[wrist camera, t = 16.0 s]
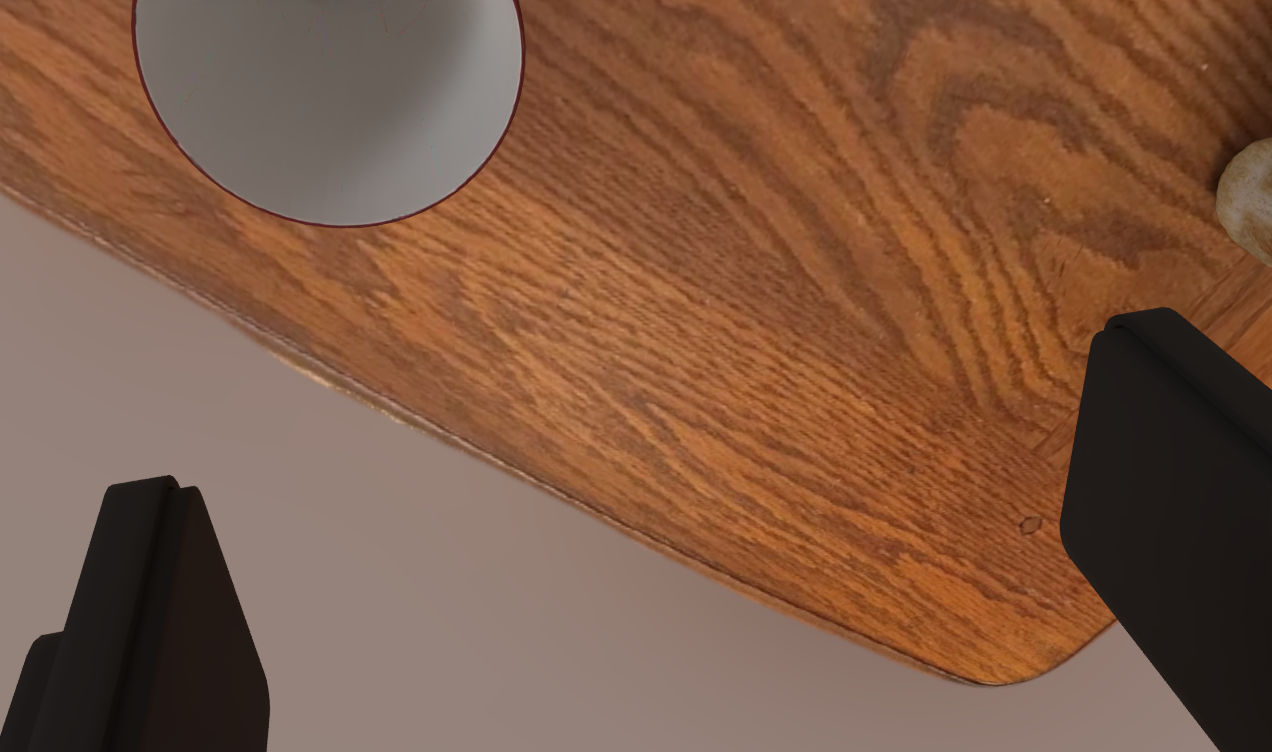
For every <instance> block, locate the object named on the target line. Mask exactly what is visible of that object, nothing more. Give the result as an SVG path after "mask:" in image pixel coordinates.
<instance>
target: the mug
mask: <svg viewBox="0 0 1272 752" xmlns="http://www.w3.org/2000/svg"><path fill="white" fill-rule="evenodd" d="M131 29H132V43H133V50H134V55H135V61H136V66H137V69H138V73H139V76H140V80H141V83H142V86H143V88H144V91H145V94H146V96H147V99H148V101H149V103H150V105H151V107H152V109H153V111H154V113H155V115H156V117H157V119H158V120H159V122H160V124H161V125H162V127H163V128H164V130H165V131H166V133H167V135H168V136H169V137H170V139H171V140H172V141H173V143H174V144H175V145H176V146H177V148H178V149H179V150H180V151H181V152H182V154H183V155H184V156H185V157H186V158H187V159H188V160H189V161H190V162H191V163H192V164H193V165H194V166H195V167H196V168H197V169H198V170H199V171H200V172H201V173H202V174H203V175H205V176H206V177H207V178H208V179H209V180H211V181H212V182H213V183H215V184H216V185H217V186H219V187H220V188H221V189H223V190H224V191H226V192H227V193H229V194H231V195H232V196H234V197H235V198H237V199H239V200H240V201H242V202H244V203H246V204H248V205H250V206H252V207H254V208H256V209H258V210H261V211H263V212H266V213H268V214H270V215H273V216H276V217H279V218H282V219H285V220H289V221H293V222H297V223H301V224H305V225H312V226H319V227H328V228H362V227H371V226H378V225H383V224H388V223H393V222H396V221H399V220H403V219H406V218H409V217H412V216H414V215H417V214H419V213H422V212H424V211H426V210H428V209H430V208H432V207H434V206H436V205H438V204H440V203H441V202H443V201H445V200H446V199H448V198H449V197H451V196H452V195H454V194H455V193H456V192H458V191H459V190H460V189H461V188H463V187H464V186H465V185H467V184H468V183H469V182H470V181H471V180H472V179H473V178H474V177H475V176H476V175H477V174H478V173H479V172H480V171H481V170H482V169H483V167H484V166H485V165H486V164H487V163H488V161H489V160H490V159H491V158H492V156H493V155H494V153H495V152H496V150H497V149H498V148H499V146H500V144H501V143H502V141H503V139H504V137H505V135H506V133H507V132H508V130H509V127H510V125H511V123H512V120H513V118H514V116H515V112H516V109H517V106H518V103H519V100H520V95H521V90H522V86H523V80H524V71H525V35H524V25H523V20H522V15H521V9H520V5H519V1H518V0H133V2H132V19H131Z"/></svg>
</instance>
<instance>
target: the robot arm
mask: <svg viewBox="0 0 1272 752" xmlns="http://www.w3.org/2000/svg"><path fill="white" fill-rule="evenodd" d="M1060 535H1061V539H1062V543H1063V546H1064V548H1065V550H1066V552H1067V554H1068V555H1069V557H1070V558H1071V560H1072V561H1073V562H1074V564H1075V565H1076V566H1077V567H1078V569H1079V570H1080V571H1081V573H1082V574H1083V575H1084V576H1085V578H1086V579H1087V580H1088V582H1089V583H1090V584H1091V586H1092V587H1093V588H1094V589H1095V591H1096V592H1097V593H1098V595H1099V596H1100V597H1101V598H1102V600H1103V601H1104V602H1105V604H1106V605H1107V606H1108V608H1109V609H1110V610H1111V611H1112V613H1113V614H1114V615H1115V617H1116V618H1117V619H1118V620H1119V622H1120V623H1121V624H1122V626H1123V627H1124V628H1125V629H1126V631H1127V632H1128V633H1129V635H1130V636H1131V637H1132V638H1133V640H1134V641H1135V642H1136V644H1137V645H1138V646H1139V648H1140V649H1141V650H1142V651H1143V653H1144V654H1145V655H1146V657H1147V658H1148V659H1149V660H1150V662H1151V663H1152V664H1153V666H1154V667H1155V668H1156V670H1157V671H1158V672H1159V673H1160V675H1161V676H1162V677H1163V679H1164V680H1165V681H1166V683H1167V684H1168V685H1169V686H1170V688H1171V689H1172V690H1173V692H1174V693H1175V694H1176V695H1177V697H1178V698H1179V699H1180V701H1181V702H1182V703H1183V705H1184V706H1185V707H1186V708H1187V710H1188V711H1189V712H1190V714H1191V715H1192V716H1193V717H1194V719H1195V720H1196V721H1197V723H1198V724H1199V725H1200V726H1201V728H1202V729H1203V730H1204V732H1205V733H1206V734H1207V735H1208V737H1209V738H1210V739H1211V741H1212V742H1213V743H1214V745H1215V746H1216V747H1217V748H1218V750H1219V751H1220V752H1272V390H1271V389H1270V388H1269V387H1267V386H1266V385H1265V384H1264V383H1262V382H1261V381H1260V380H1259V379H1258V378H1256V377H1255V376H1254V375H1253V374H1251V373H1250V372H1249V371H1248V370H1247V369H1245V368H1244V367H1243V366H1242V365H1241V364H1239V363H1238V362H1237V361H1236V360H1234V359H1233V358H1232V357H1231V356H1230V355H1228V354H1227V353H1226V352H1225V351H1224V350H1222V349H1221V348H1220V347H1219V346H1217V345H1216V344H1215V343H1214V342H1213V341H1211V340H1210V339H1209V338H1208V337H1206V336H1205V335H1204V334H1203V333H1202V332H1200V331H1199V330H1198V329H1197V328H1196V327H1194V326H1193V325H1192V324H1191V323H1189V322H1188V321H1187V320H1186V319H1185V318H1183V317H1182V316H1181V315H1180V314H1178V313H1177V312H1176V311H1174V310H1172V309H1170V308H1165V307H1160V308H1155V309H1149V310H1143V311H1137V312H1131V313H1125V314H1119V315H1115V316H1113V317H1112V318H1110V319H1109V321H1108V322H1107V323H1106V325H1105V328H1104V331H1100V332H1098V333H1096V334H1095V336H1094V337H1093V339H1092V343H1091V346H1090V352H1089V358H1088V363H1087V369H1086V375H1085V381H1084V386H1083V392H1082V398H1081V403H1080V409H1079V415H1078V421H1077V426H1076V432H1075V438H1074V444H1073V449H1072V455H1071V461H1070V467H1069V472H1068V478H1067V484H1066V489H1065V495H1064V501H1063V507H1062V512H1061V518H1060ZM269 717H270V700H269V692H268V685H267V680H266V677H265V673H264V670H263V668H262V665H261V662H260V659H259V656H258V653H257V651H256V648H255V645H254V642H253V639H252V636H251V633H250V631H249V628H248V625H247V622H246V619H245V616H244V614H243V611H242V608H241V605H240V602H239V599H238V597H237V594H236V591H235V588H234V585H233V582H232V579H231V577H230V574H229V571H228V568H227V565H226V562H225V560H224V557H223V554H222V551H221V548H220V545H219V543H218V539H217V537H216V534H215V531H214V528H213V525H212V523H211V520H210V517H209V514H208V511H207V508H206V505H205V503H204V500H203V497H202V495H201V492H200V491H199V489H198V488H197V487H195V486H190V487H185V488H180V486H179V484H178V482H177V481H176V479H175V478H174V477H173V476H171V475H167V476H161V477H155V478H149V479H143V480H137V481H131V482H126V483H119V484H114V485H111V486H109V487H108V489H107V491H106V493H105V495H104V499H103V502H102V505H101V509H100V512H99V515H98V518H97V522H96V525H95V528H94V531H93V535H92V538H91V541H90V545H89V548H88V551H87V555H86V558H85V561H84V565H83V568H82V571H81V575H80V578H79V581H78V585H77V588H76V591H75V595H74V598H73V601H72V604H71V607H70V611H69V614H68V618H67V621H66V624H65V627H64V631H62V632H57V633H51V634H46V635H41V636H40V637H39V638H38V639H36V640H35V641H34V642H33V644H32V646H31V648H30V650H29V652H28V654H27V657H26V659H25V662H24V665H23V668H22V671H21V675H20V678H19V681H18V684H17V687H16V690H15V693H14V696H13V699H12V702H11V705H10V708H9V711H8V714H7V717H6V720H5V723H4V726H3V729H2V732H1V735H0V752H266V751H267V740H268V728H269Z"/></svg>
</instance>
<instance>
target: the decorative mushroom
mask: <svg viewBox="0 0 1272 752" xmlns="http://www.w3.org/2000/svg"><path fill="white" fill-rule="evenodd" d="M1216 211H1217V215H1218V221H1219V222H1220V223H1221V224H1222V225H1223V226H1224V228H1225V229H1226V230H1227V233H1228V235H1229V236H1230V237H1231V239H1232V240H1233V241H1234V242H1236V243H1237V244H1238V245H1239V246H1241V247H1242V248H1243V249H1245V250H1246V251H1248V252H1249V253H1250V254H1252V255H1253V256H1255V257H1256V258H1257V259H1259V260H1260V261H1262V262H1263V263H1265V264H1266V265H1268V266H1270V267H1271V268H1272V137H1271V138H1266V139H1259V140H1257V141H1255V142H1253V143H1251V144H1249V145H1248V146H1247V147H1246V148H1245V149H1244V150H1243V151H1241V152H1239V153H1238V154H1237V155H1236V156H1235V157H1234V158H1232V160H1231V161H1230V163H1229V164H1228V165H1227V166H1226V168H1225V171H1224V173H1223V174H1222V175H1221V177H1220V180H1219V184H1218V189H1217V201H1216Z"/></svg>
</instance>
